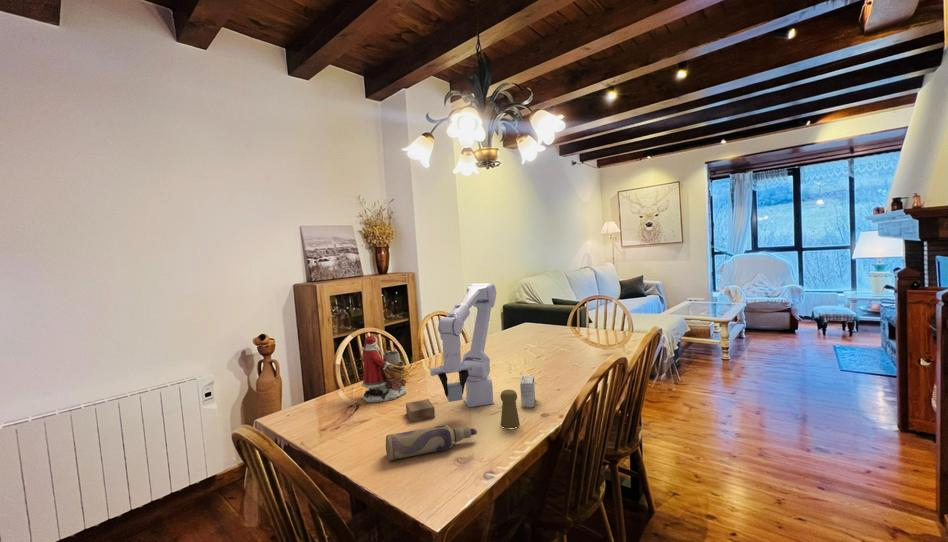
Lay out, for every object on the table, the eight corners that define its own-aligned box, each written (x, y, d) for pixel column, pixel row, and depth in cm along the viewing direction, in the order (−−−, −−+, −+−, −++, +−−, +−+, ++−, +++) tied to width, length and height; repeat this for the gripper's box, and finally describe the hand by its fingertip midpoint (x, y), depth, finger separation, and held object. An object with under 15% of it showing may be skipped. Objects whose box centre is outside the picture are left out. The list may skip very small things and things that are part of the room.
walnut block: (428, 410, 140) (428, 398, 139) (435, 418, 132) (434, 407, 132) (406, 414, 137) (405, 403, 136) (411, 423, 129) (410, 411, 129)
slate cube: (459, 395, 133) (458, 381, 132) (462, 399, 128) (461, 386, 128) (446, 397, 131) (445, 383, 131) (449, 401, 127) (448, 388, 127)
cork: (521, 421, 125) (520, 388, 125) (517, 430, 120) (515, 395, 119) (503, 420, 127) (501, 386, 127) (498, 428, 122) (496, 393, 121)
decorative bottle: (388, 467, 103) (386, 442, 103) (386, 453, 110) (384, 430, 110) (481, 447, 111) (480, 424, 110) (473, 436, 118) (472, 414, 118)
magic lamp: (377, 381, 173) (375, 356, 173) (418, 378, 174) (417, 353, 174) (374, 386, 166) (372, 361, 166) (417, 383, 168) (415, 358, 167)
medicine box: (534, 408, 136) (533, 383, 135) (521, 407, 137) (520, 383, 136) (535, 399, 143) (534, 376, 143) (523, 399, 144) (521, 375, 144)
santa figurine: (409, 388, 162) (404, 328, 161) (404, 401, 148) (398, 336, 147) (368, 391, 162) (362, 331, 160) (359, 405, 148) (353, 339, 146)
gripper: (431, 359, 123) (434, 401, 124) (476, 353, 127) (478, 394, 128) (428, 353, 130) (430, 394, 131) (470, 348, 134) (472, 387, 135)
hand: (454, 394), depth 130 cm, fingers closed on slate cube, 4 cm apart
